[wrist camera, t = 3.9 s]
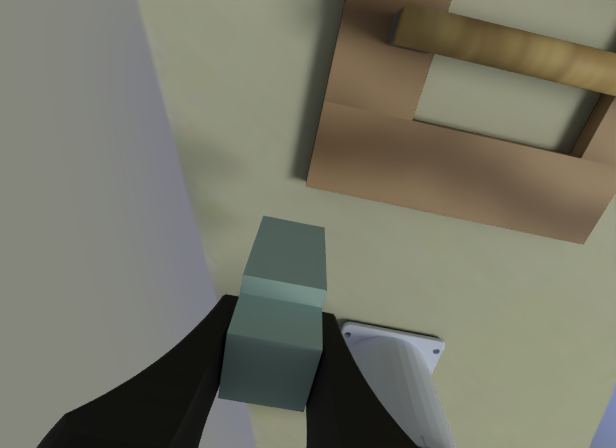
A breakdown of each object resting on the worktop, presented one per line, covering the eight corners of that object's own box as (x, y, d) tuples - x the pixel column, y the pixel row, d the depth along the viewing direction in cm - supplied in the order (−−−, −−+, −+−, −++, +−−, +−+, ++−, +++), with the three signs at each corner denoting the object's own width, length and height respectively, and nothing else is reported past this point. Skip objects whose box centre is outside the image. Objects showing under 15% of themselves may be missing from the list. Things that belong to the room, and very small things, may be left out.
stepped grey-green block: (305, 302, 19) (299, 426, 12) (250, 292, 18) (215, 413, 12) (324, 227, 17) (328, 330, 10) (263, 215, 17) (229, 312, 10)
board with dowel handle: (573, 237, 23) (625, 272, 19) (306, 181, 22) (303, 206, 18) (784, -116, 15) (942, -177, 11) (393, -225, 14) (420, -333, 10)
